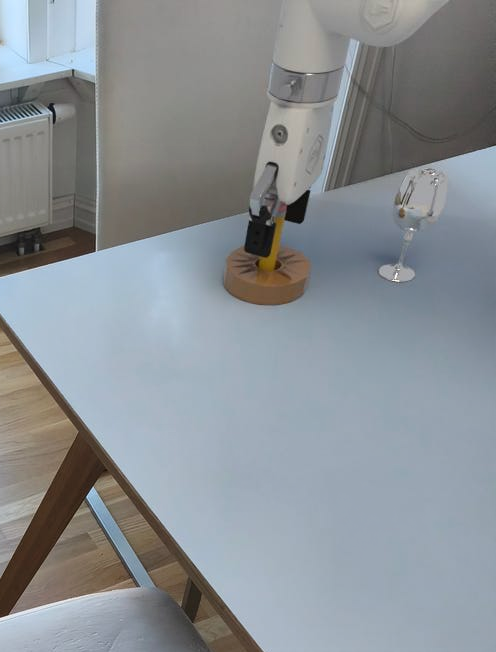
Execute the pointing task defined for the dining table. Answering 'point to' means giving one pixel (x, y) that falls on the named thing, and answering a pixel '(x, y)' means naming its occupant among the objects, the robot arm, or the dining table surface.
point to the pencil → (274, 240)
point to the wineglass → (416, 212)
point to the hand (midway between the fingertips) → (274, 237)
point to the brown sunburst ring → (267, 277)
